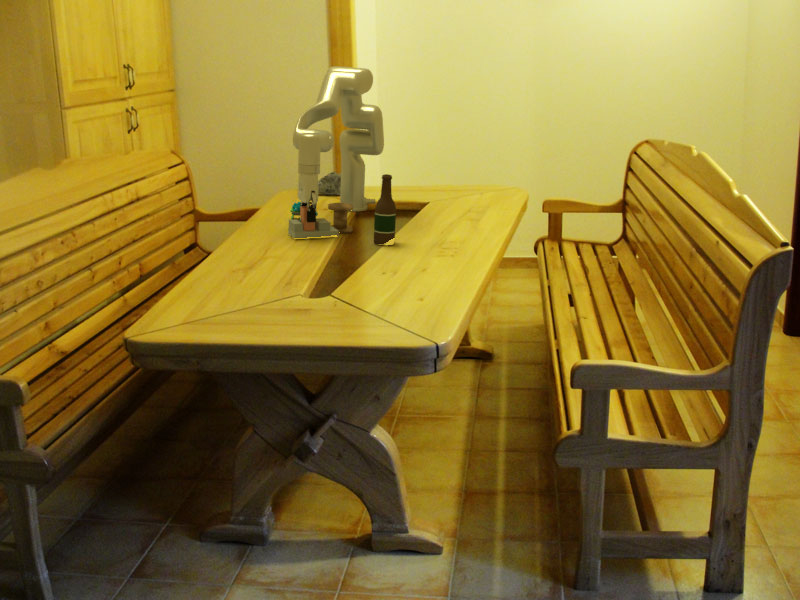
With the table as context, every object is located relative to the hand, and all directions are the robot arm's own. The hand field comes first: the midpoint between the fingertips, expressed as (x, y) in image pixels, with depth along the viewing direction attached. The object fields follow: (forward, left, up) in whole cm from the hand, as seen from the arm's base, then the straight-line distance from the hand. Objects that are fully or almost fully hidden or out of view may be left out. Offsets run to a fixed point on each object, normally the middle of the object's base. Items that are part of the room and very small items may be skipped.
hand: (308, 219), depth 343 cm
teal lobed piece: (-6, -25, -6) cm, 27 cm away
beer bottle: (-23, +15, -6) cm, 28 cm away
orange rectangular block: (0, 0, -4) cm, 4 cm away
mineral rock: (-31, -70, -6) cm, 77 cm away
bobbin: (-14, -6, -6) cm, 16 cm away
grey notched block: (-2, 0, -6) cm, 6 cm away
